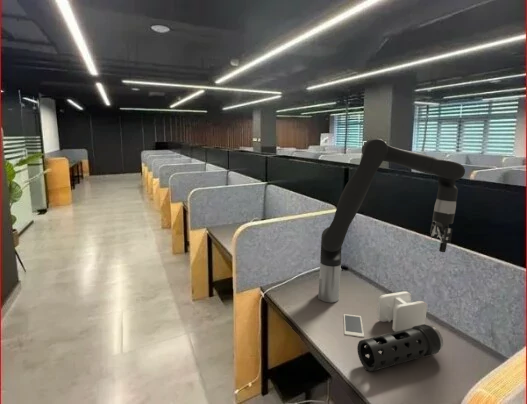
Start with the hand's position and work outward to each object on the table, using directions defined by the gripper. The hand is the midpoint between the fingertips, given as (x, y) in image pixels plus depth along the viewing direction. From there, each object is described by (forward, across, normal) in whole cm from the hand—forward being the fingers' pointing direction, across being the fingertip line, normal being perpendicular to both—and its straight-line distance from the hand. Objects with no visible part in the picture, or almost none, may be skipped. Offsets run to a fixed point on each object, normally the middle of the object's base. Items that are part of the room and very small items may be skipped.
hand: (437, 248), depth 130 cm
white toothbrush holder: (+29, +14, -15) cm, 36 cm away
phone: (+31, +17, -34) cm, 49 cm away
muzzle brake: (+30, +35, -22) cm, 51 cm away
